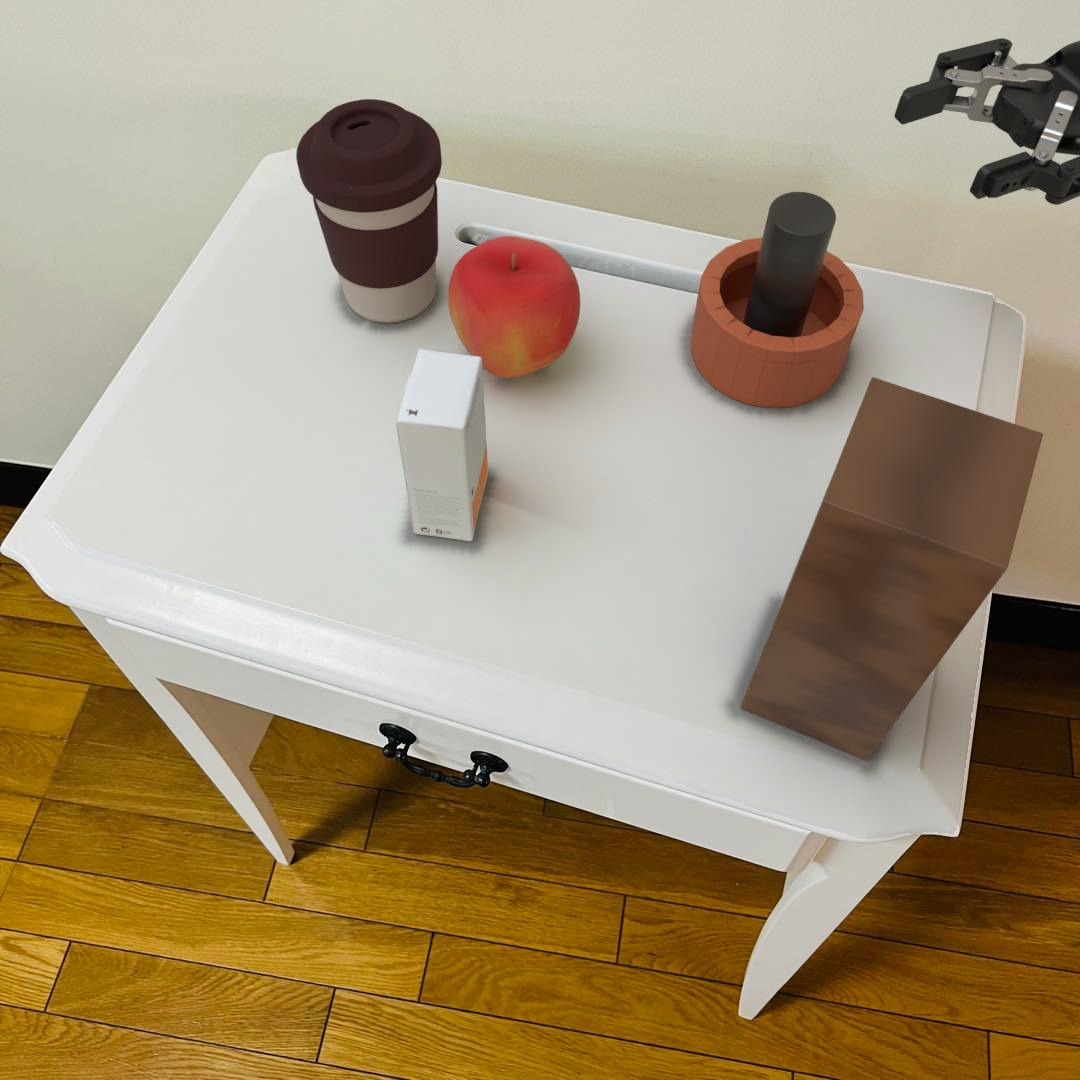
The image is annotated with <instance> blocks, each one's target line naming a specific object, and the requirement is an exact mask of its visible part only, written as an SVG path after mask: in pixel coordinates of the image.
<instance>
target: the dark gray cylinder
mask: <svg viewBox="0 0 1080 1080" xmlns="http://www.w3.org/2000/svg"><path fill="white" fill-rule="evenodd" d="M836 214H837V213H836V211H835V208H834V207H833V206H832V204H831V203H830V202H829V201H827V199H825V198H823V197H821V196H819V195H817V194H814V193H810V192H806V191H791V192H786V193H783V194H780V195H779V196H777V197H776V198H774V200H773V201H771V203H770V206H769V208H768V213H767V217H766V221H765V225H764V230H763V233H762V237H763V238H762V237H761V238H762V242H761V247H760V251H759V255H758V259H757V264H756V268H755V272H754V277H753V281H752V285H751V290H750V294H749V298H748V303H747V307H746V311H745V315H744V320H743V324H745V325H747V326H748V327H750V328H751V329H753V330H756V331H759V332H762V333H765V334H768V335H771V336H781V337H791V338H793V337H800V336H801V334H802V331H803V327H804V324H805V321H806V317H807V314H808V311H809V307H810V304H811V301H812V297H813V294H814V291H815V288H816V284H817V281H818V278H819V274H820V271H821V268H822V264H823V261H824V258H825V254H826V251H828V247H829V244H830V242H831V241H830V240H831V237H832V234H833V231H834V228H835V225H836V220H837V215H836Z"/></svg>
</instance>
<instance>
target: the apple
mask: <svg viewBox="0 0 1080 1080" xmlns="http://www.w3.org/2000/svg"><path fill="white" fill-rule="evenodd" d="M447 305H448V311H449V315H450V319H451V323H452V325H453V328H454V330H455V332H456V334H457V336H458V338H459V340H460V341H461V343H462V345H463V347H464V348H465V349H466V351H467V352H468V353H469V354H470V356H478V357H481V358H482V368H483V369H484V370H485V371H487V372H488V373H490V374H492V375H494V376H496V377H498V378H503V379H505V378H506V379H511V378H518V377H522V376H525V375H529V374H531V373H535V372H537V371H539V370H542V369H544V368H546V367H548V366H550V365H551V364H553V363H554V362H555V361H557V360H558V359H559V358H560V357H561V356H562V355H563V354H564V353H565V351H566V350H567V348H568V347H569V345H570V342H571V341H572V339H573V337H574V335H575V333H576V330H577V327H578V324H579V319H580V313H581V290H580V285H579V282H578V279H577V276H576V274H575V272H574V269H573V267H572V266H571V264H570V263H569V262H568V260H567V258H565V256H563V255H562V254H561V252H559V251H558V250H557V249H555V248H554V247H552V246H550V245H549V244H547V243H545V242H543V241H540V240H535V239H531V238H526V237H523V236H516V235H504V236H499V237H498V236H497V237H494V238H491V239H489V240H485V241H484V242H481V243H479V244H478V245H476V246H473V248H471V249H469V250H468V251H467V252H465V253H464V254H463V255H462V256H461V257H460V258H459V259H458V261H457V262H456V264H455V265H454V267H453V270H452V272H451V276H450V279H449V282H448V291H447Z"/></svg>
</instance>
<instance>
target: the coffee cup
mask: <svg viewBox="0 0 1080 1080" xmlns="http://www.w3.org/2000/svg"><path fill="white" fill-rule="evenodd" d="M441 150H442V149H441V140H440V137H439V136H438V133H437V131H436V130H435V129H434V128H433V126H432V125H431V124H430V123H429V122H428V121H426V120H425V119H424V118H423V117H421V116H420V115H418V114H415V113H414V112H412V111H409V110H406V109H405V108H403V107H402V106H400V105H398V104H396V103H394V102H391V101H387V100H382V99H375V98H366V99H364V98H363V99H357V100H356V99H355V100H351V101H348V102H345V103H342V104H339V105H336V106H335V107H333V108H332V109H330V110H329V111H327V112H325V114H323V116H322V117H321V118H320V119H319V120H318V121H316V122H315V123H313V125H311V126H310V127H309V128H308V129H307V130H306V131H305V132H304V134H303V135H302V137H301V138H300V140H299V142H298V145H297V147H296V154H295V155H296V156H295V157H296V163H297V169H298V172H299V178H300V181H301V182H302V185H303V187H304V188H305V189H306V191H307V193H309V194H310V195H311V196H312V201H313V206H314V208H315V212H316V216H317V219H318V222H319V226H320V228H321V229H320V230H321V232H322V236H323V238H324V242H325V244H326V248H327V252H328V255H329V258H330V262H331V264H332V266H333V268H334V269H335V271H336V272H337V275H338V278H339V281H340V285H341V288H342V291H343V295H344V298H345V301H346V303H347V304H348V306H349V307H350V308H351V309H352V310H353V311H354V312H355V313H356V314H357V315H359V316H360V317H362V318H364V319H367V320H369V321H373V322H377V323H397V322H398V323H399V322H403V321H406V320H409V319H412V318H414V317H416V316H418V315H420V314H421V313H423V312H424V311H425V310H426V309H427V308H428V307H429V305H430V304H432V302H433V300H434V298H435V294H436V290H437V261H436V260H437V257H438V252H439V211H438V210H439V209H438V184H437V180H438V178H439V176H440V175H441V171H442V166H443V164H442V163H443V160H442V159H443V157H442V151H441Z"/></svg>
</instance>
